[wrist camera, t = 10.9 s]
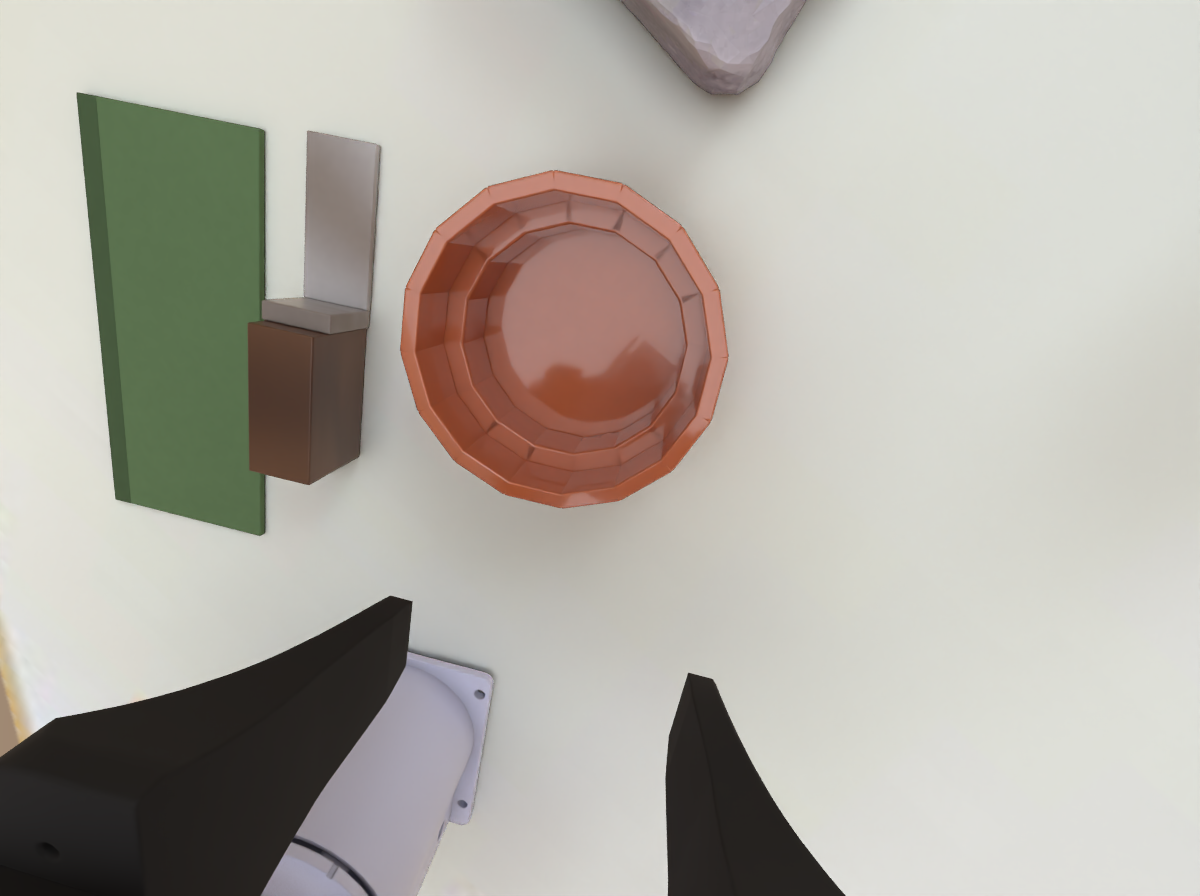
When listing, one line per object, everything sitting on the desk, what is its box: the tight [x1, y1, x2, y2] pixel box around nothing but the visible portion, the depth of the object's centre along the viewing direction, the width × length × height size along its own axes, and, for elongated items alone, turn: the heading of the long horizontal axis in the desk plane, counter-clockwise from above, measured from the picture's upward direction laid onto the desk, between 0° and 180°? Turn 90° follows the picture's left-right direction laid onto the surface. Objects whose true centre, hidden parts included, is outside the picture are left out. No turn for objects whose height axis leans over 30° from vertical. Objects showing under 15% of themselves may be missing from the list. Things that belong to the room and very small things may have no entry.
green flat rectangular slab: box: [77, 93, 265, 536], centre depth 23 cm, size 17×7×1 cm, turn 169°
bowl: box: [400, 170, 729, 508], centre depth 18 cm, size 10×10×5 cm
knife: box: [248, 131, 380, 485], centre depth 20 cm, size 12×3×3 cm, turn 169°
